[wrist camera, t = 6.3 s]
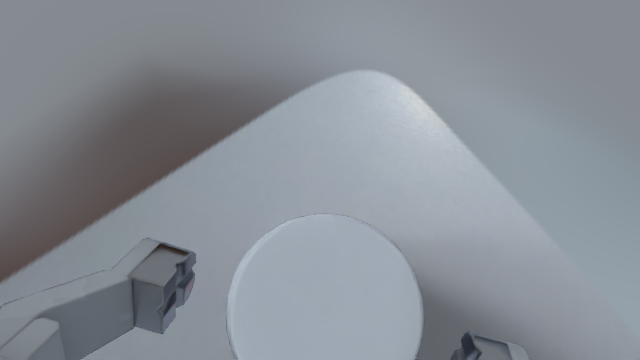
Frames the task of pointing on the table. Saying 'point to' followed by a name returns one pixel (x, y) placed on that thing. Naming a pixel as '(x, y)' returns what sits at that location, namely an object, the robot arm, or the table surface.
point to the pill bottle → (324, 295)
